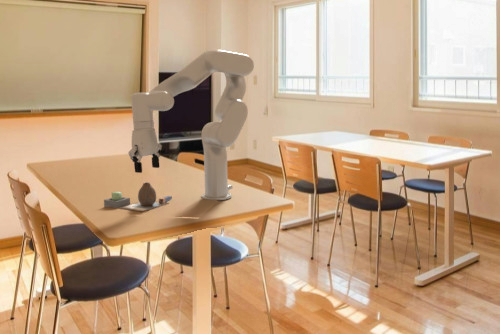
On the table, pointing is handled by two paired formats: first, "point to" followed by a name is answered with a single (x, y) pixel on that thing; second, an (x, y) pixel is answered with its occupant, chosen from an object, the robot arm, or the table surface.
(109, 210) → the table surface
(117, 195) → the button
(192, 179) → the table surface
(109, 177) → the table surface
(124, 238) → the table surface
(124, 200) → the button box
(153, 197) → the vase
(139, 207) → the picture frame
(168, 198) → the marker
